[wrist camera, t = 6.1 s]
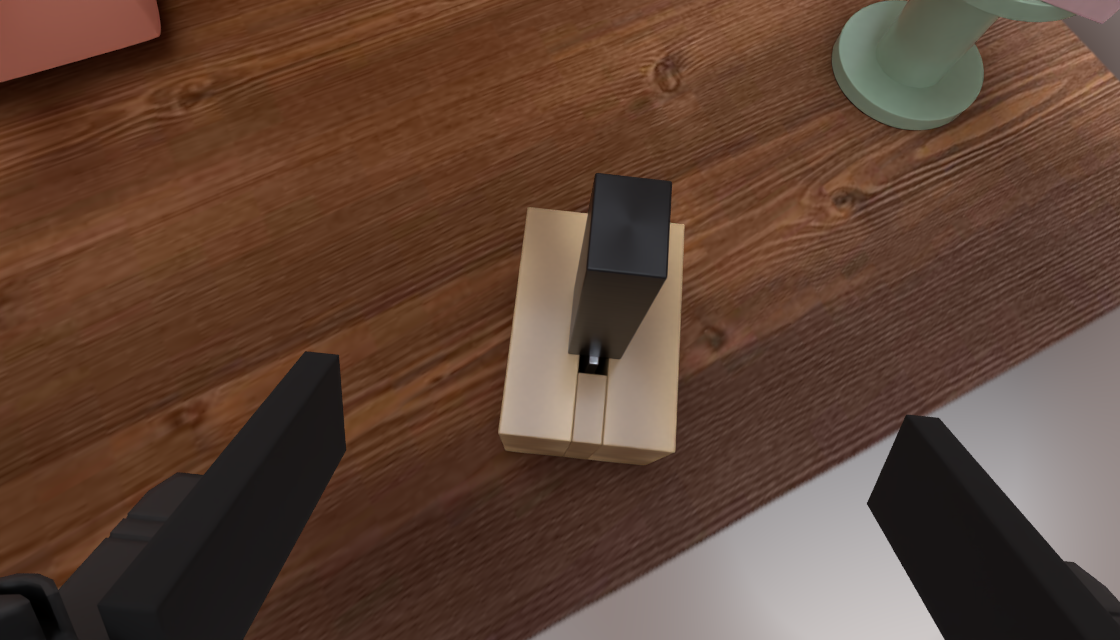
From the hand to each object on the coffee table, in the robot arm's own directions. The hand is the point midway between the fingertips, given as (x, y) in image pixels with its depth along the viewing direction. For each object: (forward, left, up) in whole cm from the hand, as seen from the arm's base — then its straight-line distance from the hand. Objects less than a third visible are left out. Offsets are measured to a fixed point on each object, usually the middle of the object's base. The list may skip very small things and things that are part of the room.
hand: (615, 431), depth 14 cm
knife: (+2, -6, -16) cm, 17 cm away
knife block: (+2, -6, -16) cm, 17 cm away
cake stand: (-8, -32, -16) cm, 36 cm away
